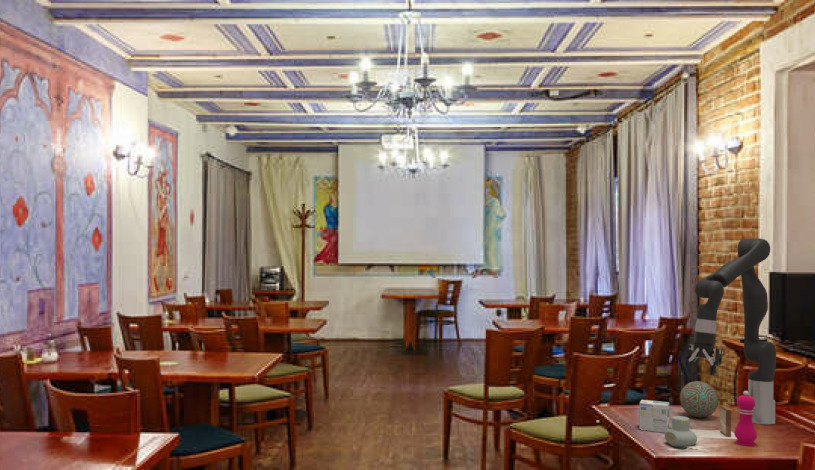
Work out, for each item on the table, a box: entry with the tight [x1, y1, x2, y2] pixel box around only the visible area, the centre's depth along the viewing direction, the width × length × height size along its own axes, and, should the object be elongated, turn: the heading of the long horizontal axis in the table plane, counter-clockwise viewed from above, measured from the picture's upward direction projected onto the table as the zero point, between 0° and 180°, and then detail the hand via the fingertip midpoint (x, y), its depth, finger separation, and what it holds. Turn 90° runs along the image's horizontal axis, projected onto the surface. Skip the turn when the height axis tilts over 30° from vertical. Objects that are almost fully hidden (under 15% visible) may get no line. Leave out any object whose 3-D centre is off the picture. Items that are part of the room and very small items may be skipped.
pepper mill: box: [734, 390, 758, 447], centre depth 258 cm, size 7×7×20 cm
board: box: [690, 428, 738, 440], centre depth 271 cm, size 20×12×1 cm, turn 84°
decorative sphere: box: [679, 380, 719, 419], centre depth 303 cm, size 15×15×15 cm
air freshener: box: [664, 415, 698, 449], centre depth 258 cm, size 11×8×10 cm
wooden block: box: [719, 405, 732, 437], centre depth 270 cm, size 2×7×10 cm, turn 174°
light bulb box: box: [638, 399, 670, 434], centre depth 281 cm, size 11×7×11 cm, turn 65°
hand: (701, 373), depth 279 cm, fingers open, 8 cm apart
